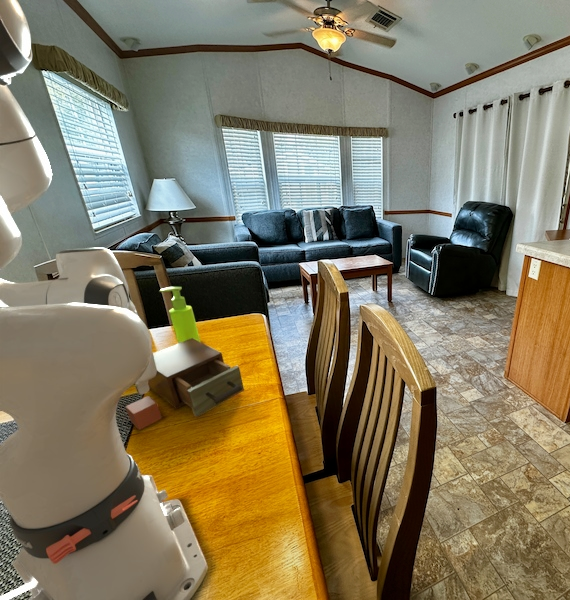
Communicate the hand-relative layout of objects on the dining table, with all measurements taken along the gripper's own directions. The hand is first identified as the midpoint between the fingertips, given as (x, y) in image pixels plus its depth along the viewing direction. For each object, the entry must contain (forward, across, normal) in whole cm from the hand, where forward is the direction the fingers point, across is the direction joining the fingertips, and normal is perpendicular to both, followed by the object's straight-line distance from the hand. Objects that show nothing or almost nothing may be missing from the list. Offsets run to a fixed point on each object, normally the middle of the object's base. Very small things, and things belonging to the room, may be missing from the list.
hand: (134, 384), depth 70 cm
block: (+10, 0, 0) cm, 10 cm away
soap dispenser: (+10, -26, +22) cm, 36 cm away
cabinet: (+10, -6, +12) cm, 16 cm away
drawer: (+9, +6, +12) cm, 16 cm away
